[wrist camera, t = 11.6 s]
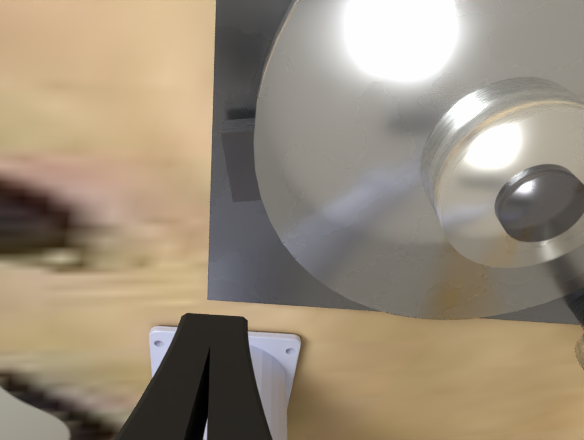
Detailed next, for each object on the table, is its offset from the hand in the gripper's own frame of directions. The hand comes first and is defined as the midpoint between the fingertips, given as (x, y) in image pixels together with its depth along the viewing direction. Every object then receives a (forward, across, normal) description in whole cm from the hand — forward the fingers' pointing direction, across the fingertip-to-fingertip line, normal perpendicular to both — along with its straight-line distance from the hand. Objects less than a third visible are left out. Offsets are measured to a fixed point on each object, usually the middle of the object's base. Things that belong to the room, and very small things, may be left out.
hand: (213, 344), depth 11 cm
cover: (+7, -9, -2) cm, 12 cm away
